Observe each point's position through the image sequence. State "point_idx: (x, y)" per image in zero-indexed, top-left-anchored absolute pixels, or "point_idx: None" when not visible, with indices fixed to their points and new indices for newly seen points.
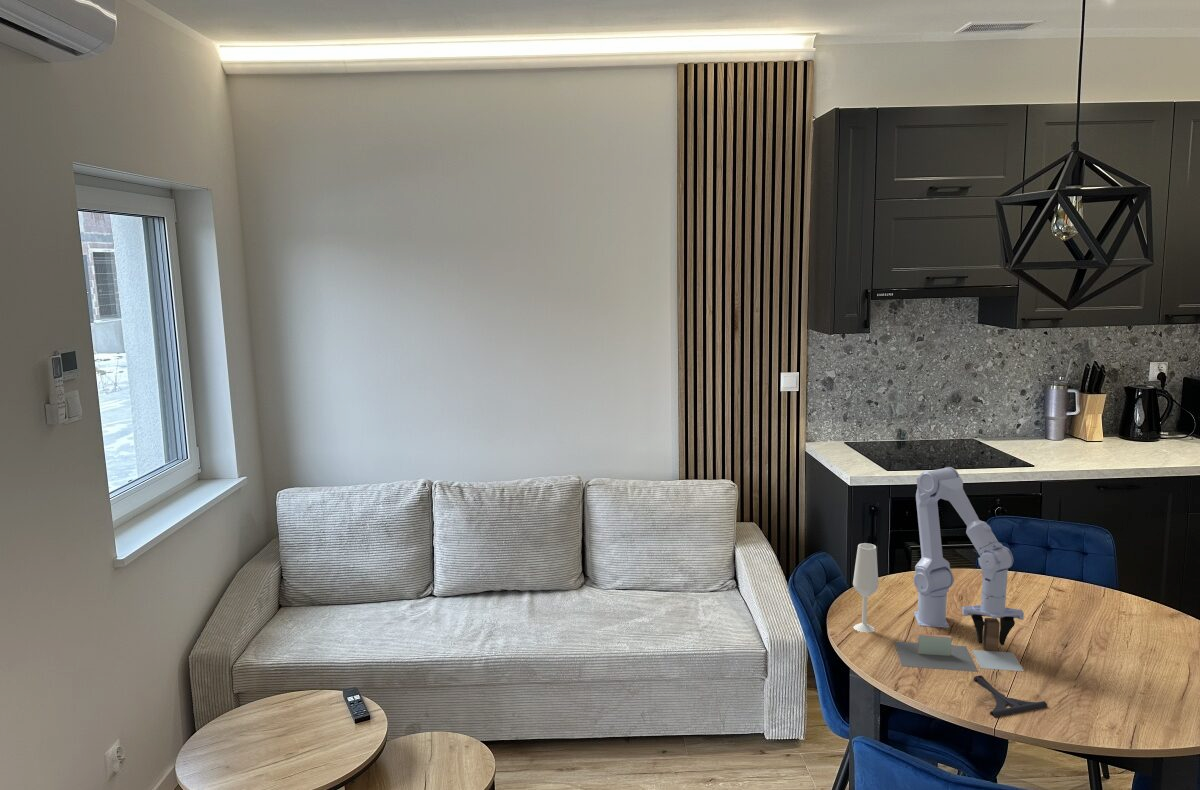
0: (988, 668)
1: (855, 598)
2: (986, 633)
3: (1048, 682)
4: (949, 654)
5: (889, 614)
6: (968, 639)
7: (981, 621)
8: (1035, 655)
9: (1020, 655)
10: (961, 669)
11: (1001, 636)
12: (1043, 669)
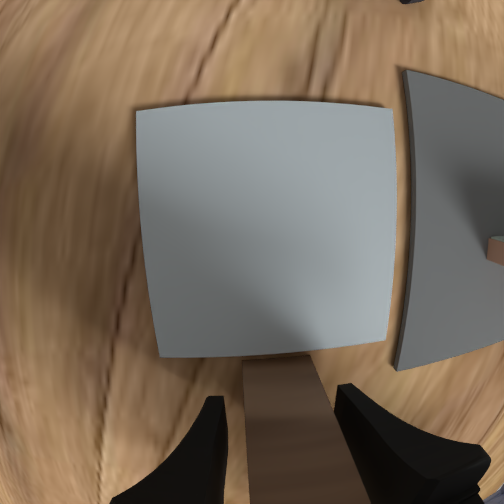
0: (351, 107)
1: (494, 487)
2: (340, 433)
3: (55, 52)
4: (498, 237)
5: None
6: None
7: (454, 475)
8: (62, 351)
9: (124, 345)
10: (469, 95)
11: (221, 442)
12: (36, 195)
